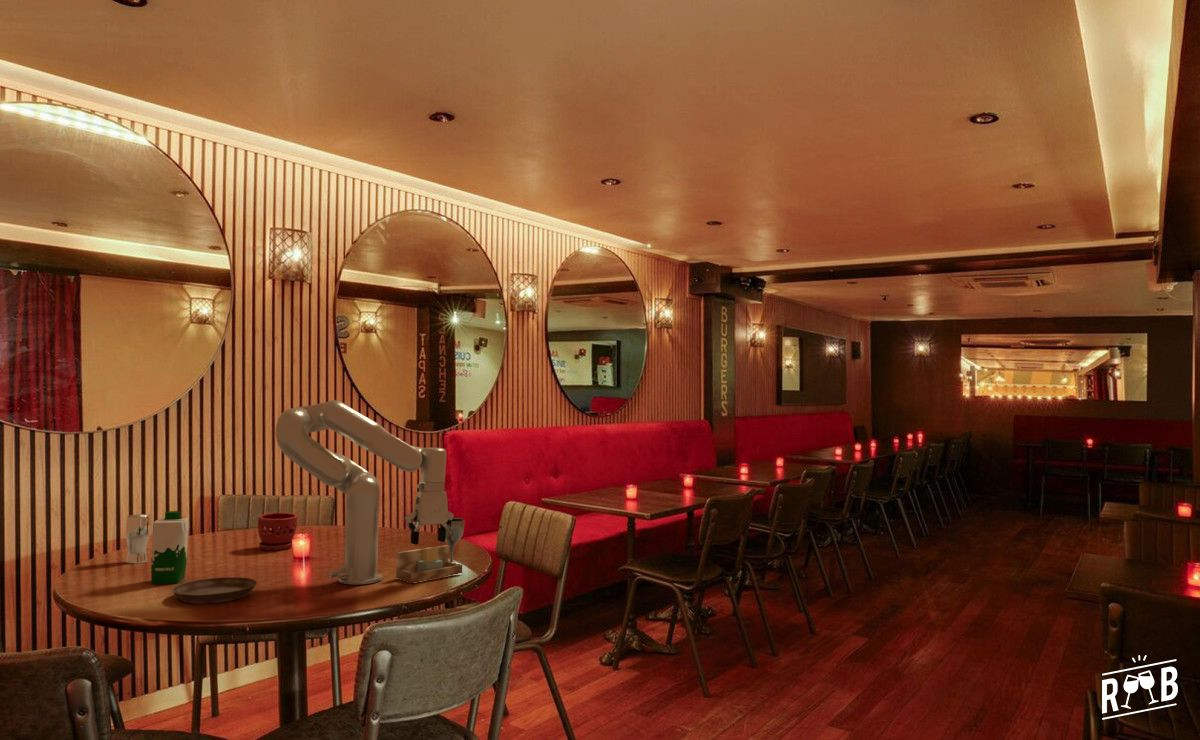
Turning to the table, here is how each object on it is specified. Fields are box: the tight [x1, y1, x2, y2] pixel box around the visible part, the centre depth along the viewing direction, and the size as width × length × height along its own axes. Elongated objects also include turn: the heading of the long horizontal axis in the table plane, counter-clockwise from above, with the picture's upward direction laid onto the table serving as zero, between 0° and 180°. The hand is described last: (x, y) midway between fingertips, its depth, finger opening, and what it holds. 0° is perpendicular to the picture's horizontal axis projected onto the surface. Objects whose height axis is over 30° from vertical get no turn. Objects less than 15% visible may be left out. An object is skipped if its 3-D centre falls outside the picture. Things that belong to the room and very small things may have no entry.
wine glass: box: [445, 517, 465, 562], centre depth 250 cm, size 8×8×15 cm
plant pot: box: [257, 512, 298, 551], centre depth 272 cm, size 13×13×12 cm
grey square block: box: [417, 546, 443, 572], centre depth 233 cm, size 6×5×9 cm
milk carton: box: [150, 510, 189, 585], centre depth 221 cm, size 9×9×20 cm
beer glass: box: [125, 513, 152, 565], centre depth 246 cm, size 7×7×15 cm
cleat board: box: [395, 544, 463, 584], centre depth 233 cm, size 18×9×8 cm, turn 136°
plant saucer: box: [171, 576, 258, 605], centre depth 206 cm, size 21×21×3 cm
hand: (428, 542), depth 233 cm, fingers open, 9 cm apart
